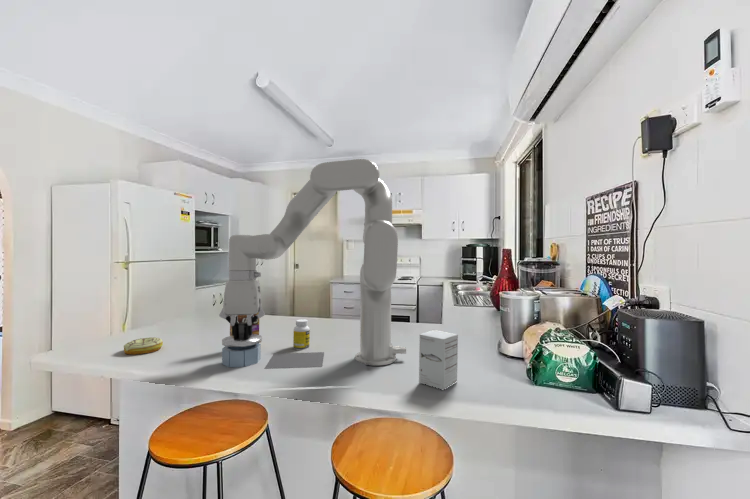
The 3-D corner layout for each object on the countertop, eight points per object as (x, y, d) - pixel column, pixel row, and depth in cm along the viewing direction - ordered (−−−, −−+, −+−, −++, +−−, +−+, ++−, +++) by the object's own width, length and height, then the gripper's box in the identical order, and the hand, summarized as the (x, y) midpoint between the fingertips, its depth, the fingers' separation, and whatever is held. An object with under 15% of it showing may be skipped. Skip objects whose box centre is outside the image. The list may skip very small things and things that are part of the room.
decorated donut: (125, 349, 114) (125, 338, 114) (162, 345, 120) (162, 334, 120) (121, 358, 106) (122, 345, 106) (162, 352, 111) (162, 341, 111)
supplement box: (417, 383, 86) (418, 333, 86) (433, 375, 92) (433, 328, 92) (443, 391, 81) (443, 338, 81) (458, 382, 87) (458, 333, 87)
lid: (265, 336, 107) (265, 319, 107) (257, 346, 96) (257, 327, 96) (228, 337, 105) (228, 319, 105) (216, 347, 95) (216, 327, 95)
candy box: (231, 353, 110) (231, 306, 110) (229, 350, 114) (229, 304, 114) (259, 349, 115) (259, 304, 115) (256, 346, 118) (256, 302, 119)
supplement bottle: (307, 351, 113) (307, 322, 113) (291, 351, 113) (291, 321, 113) (311, 346, 118) (311, 318, 118) (295, 346, 118) (295, 318, 118)
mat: (324, 353, 110) (324, 352, 110) (322, 368, 96) (322, 366, 96) (273, 355, 108) (273, 353, 108) (264, 370, 94) (264, 368, 94)
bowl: (262, 357, 106) (262, 341, 106) (254, 368, 96) (255, 350, 96) (229, 358, 105) (229, 342, 105) (218, 369, 95) (218, 351, 95)
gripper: (273, 275, 105) (272, 334, 105) (218, 275, 104) (218, 335, 104) (267, 277, 98) (267, 340, 98) (209, 277, 96) (208, 342, 96)
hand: (242, 337), depth 101 cm, fingers closed on lid, 2 cm apart
